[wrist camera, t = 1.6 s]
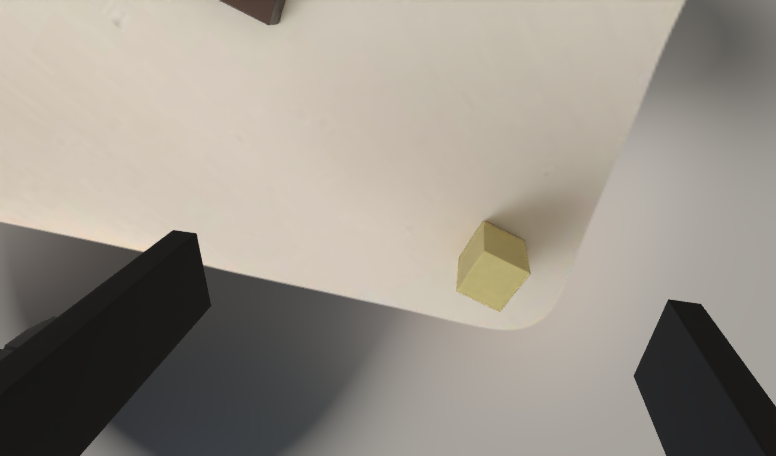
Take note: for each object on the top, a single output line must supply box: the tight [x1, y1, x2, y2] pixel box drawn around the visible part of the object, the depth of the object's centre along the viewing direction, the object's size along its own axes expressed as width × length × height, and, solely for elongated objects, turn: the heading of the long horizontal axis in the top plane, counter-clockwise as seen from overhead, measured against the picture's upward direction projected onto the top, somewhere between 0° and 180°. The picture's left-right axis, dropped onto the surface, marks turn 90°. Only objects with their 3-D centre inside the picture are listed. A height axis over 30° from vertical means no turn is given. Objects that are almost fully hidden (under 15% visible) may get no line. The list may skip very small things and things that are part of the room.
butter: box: [456, 221, 530, 312], centre depth 32 cm, size 4×4×4 cm
